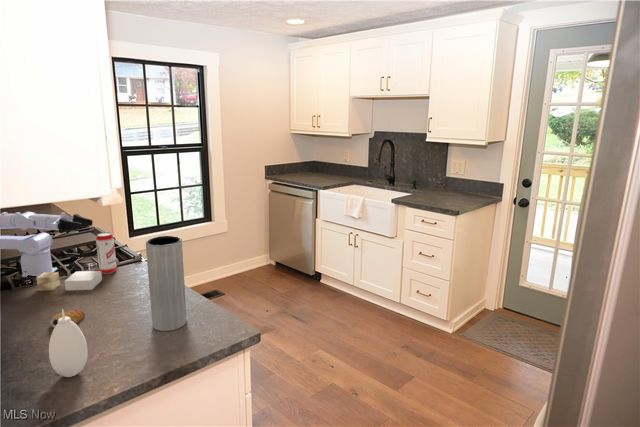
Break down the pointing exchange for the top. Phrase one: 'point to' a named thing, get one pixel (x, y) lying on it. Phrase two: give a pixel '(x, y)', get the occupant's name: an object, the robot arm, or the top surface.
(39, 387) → the top surface
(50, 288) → the maple cube
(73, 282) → the white block
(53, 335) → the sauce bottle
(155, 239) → the vase
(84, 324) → the top surface
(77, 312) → the pastry
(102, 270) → the beer can
